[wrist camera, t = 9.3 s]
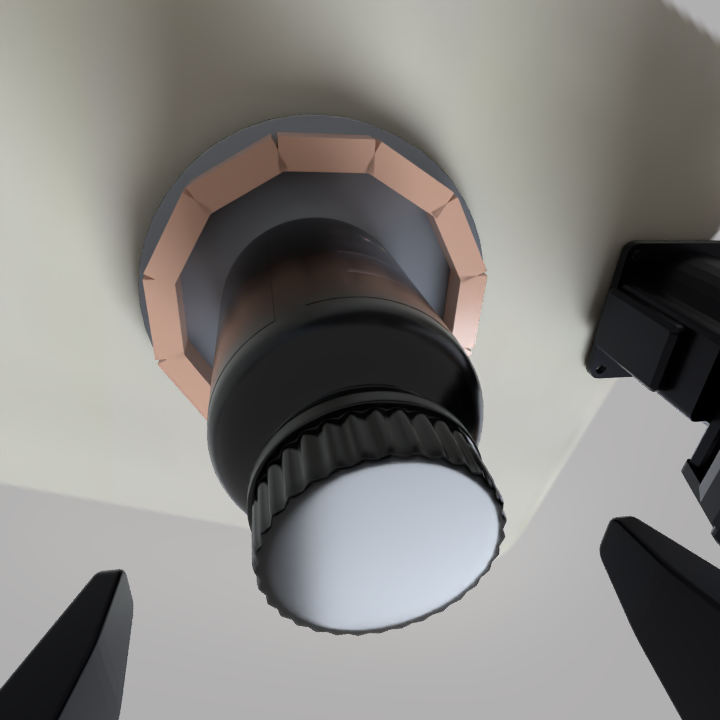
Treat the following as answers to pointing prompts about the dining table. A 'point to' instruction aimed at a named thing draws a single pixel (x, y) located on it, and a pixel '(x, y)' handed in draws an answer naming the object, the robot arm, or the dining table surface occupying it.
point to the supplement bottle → (348, 433)
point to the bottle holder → (295, 201)
